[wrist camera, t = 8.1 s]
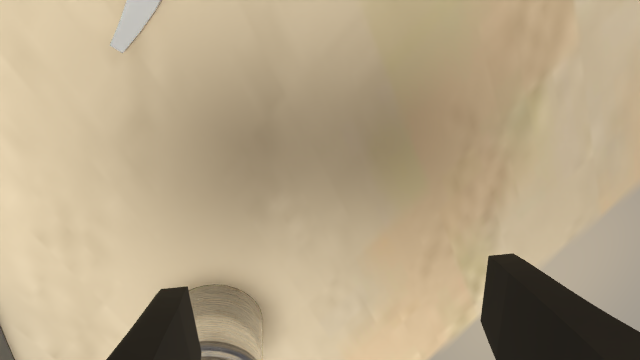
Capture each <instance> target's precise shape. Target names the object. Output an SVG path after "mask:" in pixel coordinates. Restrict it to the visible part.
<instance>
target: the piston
mask: <svg viewBox="0 0 640 360" xmlns="http://www.w3.org/2000/svg"><path fill="white" fill-rule="evenodd" d="M189 296H190V300H191V305H192V310H193V314H194V319H195V324H196V328H197V333H198V338H199V343H200V347H201V360H263V353H262V314H261V311H260V308H259V306H258V305H257V303H256V302H255V301H254V300H253V299H252V298H251V297H250V296H249V295H247V294H246V293H244V292H243V291H241V290H238V289H236V288H233V287H229V286H224V285H206V286H201V287H198V288H195V289H192V290H190V291H189Z"/></svg>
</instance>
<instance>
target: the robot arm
mask: <svg viewBox="0 0 640 360" xmlns="http://www.w3.org/2000/svg"><path fill="white" fill-rule="evenodd" d="M481 323H482V326H483V328H484V331H485V334H486V336H487V339H488V341H489V344H490V346H491V349H492V351H493V353H494V356H495V358H496V360H640V332H639V331H637V330H635V329H633V328H632V327H630V326H628V325H626V324H625V323H623V322H621V321H619V320H618V319H616V318H614V317H612V316H611V315H609V314H607V313H606V312H604V311H602V310H601V309H599V308H597V307H596V306H594V305H593V304H591V303H589V302H587V301H586V300H585V299H583V298H581V297H580V296H578V295H577V294H575V293H574V292H572V291H570V290H569V289H567V288H566V287H564V286H563V285H561V284H560V283H558V282H557V281H555V280H554V279H552V278H551V277H549V276H548V275H546V274H545V273H543V272H542V271H540V270H539V269H537V268H536V267H534V266H533V265H531V264H529V263H528V262H526V261H525V260H523V259H522V258H520V257H518V256H517V255H515V254H503V255H494V256H489V257H488V265H487V274H486V282H485V290H484V298H483V306H482V314H481ZM106 360H201V347H200V343H199V338H198V333H197V328H196V324H195V319H194V314H193V310H192V305H191V300H190V296H189V291H188V287H178V288H168V289H161V290H160V291H159V292H158V293H157V295H156V296H155V297H154V299H153V300H152V301H151V303H150V304H149V305H148V307H147V308H146V309H145V311H144V312H143V313H142V315H141V316H140V317H139V319H138V320H137V321H136V323H135V324H134V325H133V327H132V328H131V329H130V331H129V332H128V333H127V335H126V336H125V337H124V338H123V340H122V341H121V342H120V343H119V345H118V346H117V347H116V348H115V350H114V351H113V352H112V353H111V355H110V356H109V357H108V358H107V359H106Z"/></svg>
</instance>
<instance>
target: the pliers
mask: <svg viewBox="0 0 640 360" xmlns="http://www.w3.org/2000/svg"><path fill="white" fill-rule="evenodd" d="M160 2H161V0H127V1H126V4H125V7H124V10H123V13H122V16H121V19H120V21H119V24H118V26H117V29H116V31H115V34H114V36H113V39H112V41H111V43H110V46H111V47H113V48H115V49H116V50H118V51H120V52H121V53H123V52H124V51H126V49H127V48H128V47H129V46H130V44H131V43H132V42H133V41H134V40H135V38H136V37H137V36H138V35H139V33H140V32H141V31H142V30H143V28H144V27H145V25H146V24H147V23H148V21H149V20H150V18H151V17H152V15H153V14H154V13H155V11H156V10H157V8H158V6H159V4H160Z"/></svg>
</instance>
